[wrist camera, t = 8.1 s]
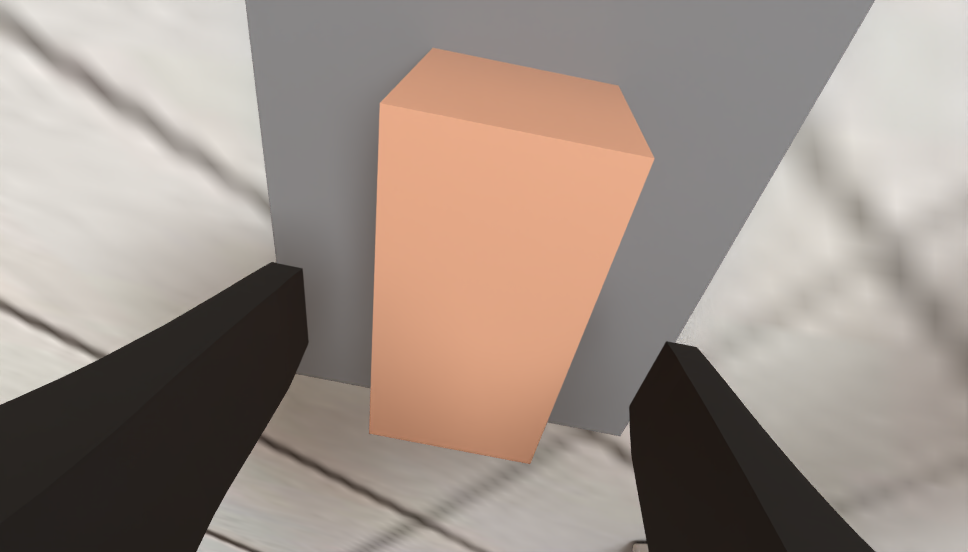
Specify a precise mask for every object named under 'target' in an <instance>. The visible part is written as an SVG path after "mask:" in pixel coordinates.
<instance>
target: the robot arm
mask: <svg viewBox="0 0 968 552" xmlns="http://www.w3.org/2000/svg"><path fill="white" fill-rule="evenodd" d="M308 343H309V340H308V327H307V315H306V302H305V290H304V278H303V268H299V267H294V266H289V265H284V264H279V263H274V262H271V263H269V264H268V265H266V266H264V267H262V268H260V269H259V270H257V271H255V272H254V273H252V274H250V275H248V276H247V277H245V278H243V279H242V280H240V281H238V282H237V283H235V284H233V285H232V286H230V287H229V288H227V289H225V290H224V291H222V292H220V293H219V294H217V295H215V296H213V297H212V298H210V299H208V300H207V301H205V302H203V303H201V304H200V305H198V306H196V307H195V308H193V309H191V310H189V311H188V312H186V313H184V314H183V315H181V316H179V317H177V318H176V319H174V320H172V321H171V322H169V323H167V324H165V325H163V326H161V327H160V328H158V329H156V330H154V331H152V332H150V333H148V334H146V335H145V336H143V337H141V338H139V339H137V340H135V341H133V342H131V343H129V344H128V345H126V346H124V347H122V348H120V349H118V350H116V351H114V352H112V353H111V354H109V355H107V356H105V357H103V358H101V359H99V360H97V361H95V362H93V363H91V364H89V365H87V366H85V367H83V368H81V369H79V370H77V371H75V372H72V373H70V374H68V375H66V376H64V377H62V378H60V379H58V380H55V381H53V382H51V383H49V384H47V385H44V386H42V387H40V388H38V389H35V390H33V391H31V392H29V393H26V394H24V395H22V396H20V397H18V398H15V399H13V400H11V401H8V402H6V403H4V404H1V405H0V552H196V551H197V549H198V547H199V545H200V543H201V541H202V539H203V537H204V535H205V533H206V530H207V528H208V526H209V524H210V522H211V520H212V518H213V516H214V514H215V512H216V511H217V509H218V507H219V505H220V503H221V502H222V500H223V498H224V496H225V494H226V492H227V491H228V489H229V487H230V486H231V484H232V482H233V481H234V479H235V477H236V476H237V474H238V472H239V471H240V469H241V467H242V466H243V464H244V463H245V461H246V459H247V458H248V456H249V454H250V453H251V451H252V449H253V448H254V446H255V444H256V443H257V441H258V439H259V438H260V436H261V434H262V433H263V431H264V429H265V428H266V426H267V424H268V423H269V421H270V419H271V418H272V416H273V414H274V413H275V411H276V409H277V408H278V406H279V404H280V402H281V401H282V399H283V397H284V396H285V394H286V392H287V390H288V389H289V387H290V385H291V382H292V380H293V378H294V376H295V374H296V371H297V369H298V367H299V365H300V362H301V360H302V358H303V355H304V353H305V351H306V348H307V346H308ZM629 418H630V440H631V455H632V461H633V468H634V473H635V479H636V485H637V490H638V496H639V502H640V507H641V512H642V518H643V523H644V529H645V534H646V540H647V545H648V551H649V552H875V551H874V550H873V549H872V548H871V547H870V546H869V545H868V544H867V543H866V542H865V541H864V540H863V539H862V538H861V537H860V536H859V535H858V534H857V533H856V532H855V531H854V530H853V529H852V528H851V527H850V526H849V525H848V524H847V523H846V522H845V521H844V519H843V518H842V517H841V516H840V515H839V514H838V513H837V512H836V511H835V510H834V509H833V508H832V507H831V506H830V504H829V503H828V502H827V501H826V500H825V499H824V498H823V497H822V496H821V495H820V493H819V492H818V491H817V490H816V489H815V488H814V487H813V486H812V485H811V483H810V482H809V481H808V480H807V479H806V478H805V477H804V476H803V475H802V474H801V472H800V471H799V470H798V469H797V468H796V467H795V465H794V464H793V463H792V462H791V461H790V460H789V458H788V457H787V456H786V455H785V454H784V453H783V451H782V450H781V449H780V448H779V447H778V446H777V444H776V443H775V442H774V441H773V440H772V438H771V437H770V436H769V435H768V434H767V432H766V431H765V430H764V429H763V428H762V426H761V425H760V424H759V423H758V421H757V420H756V419H755V418H754V417H753V415H752V414H751V413H750V412H749V410H748V409H747V408H746V407H745V405H744V404H743V403H742V402H741V400H740V399H739V398H738V397H737V396H736V394H735V393H734V392H733V391H732V389H731V388H730V387H729V386H728V384H727V383H726V382H725V381H724V379H723V378H722V377H721V376H720V374H719V373H718V372H717V371H716V369H715V368H714V367H713V366H712V365H711V363H710V362H709V361H708V360H707V359H706V357H705V356H704V355H703V354H702V353H701V352H700V350H699V349H698V348H697V347H693V346H688V345H683V344H678V343H673V342H668V341H666V342H665V344H664V346H663V348H662V349H661V351H660V353H659V355H658V356H657V358H656V360H655V362H654V363H653V365H652V367H651V369H650V370H649V372H648V374H647V376H646V377H645V379H644V381H643V383H642V384H641V386H640V388H639V390H638V391H637V393H636V395H635V397H634V398H633V400H632V402H631V404H630V406H629Z"/></svg>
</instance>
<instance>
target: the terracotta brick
mask: <svg viewBox="0 0 968 552" xmlns="http://www.w3.org/2000/svg"><path fill="white" fill-rule="evenodd" d="M654 159H655V158H654V156H653V154H652V152H651V150H650V148H649V146H648V144H647V142H646V140H645V138H644V136H643V134H642V132H641V130H640V128H639V126H638V124H637V122H636V120H635V118H634V116H633V114H632V112H631V110H630V108H629V106H628V104H627V102H626V100H625V98H624V96H623V94H622V92H621V90H620V88H619V86H618V85H613V84H608V83H603V82H598V81H593V80H588V79H584V78H579V77H574V76H569V75H564V74H559V73H554V72H549V71H544V70H539V69H535V68H530V67H525V66H520V65H515V64H510V63H505V62H500V61H495V60H491V59H486V58H481V57H476V56H471V55H466V54H461V53H456V52H451V51H446V50H442V49H437V48H432V49H431V50H430V51H429V52H428V53H427V54H426V55H425V57H424V58H423V59H422V60H421V61H420V62H419V63H418V64H417V65H416V66H415V67H414V68H413V69H412V70H411V71H410V72H409V73H408V74H407V75H406V76H405V77H404V78H403V79H402V80H401V81H400V83H399V84H398V85H397V86H396V87H395V88H394V89H393V90H392V91H391V92H390V93H389V94H388V95H387V96H386V97H385V98H384V99H383V100H382V101H381V102H380V113H379V144H378V175H377V206H376V237H375V268H374V300H373V331H372V362H371V393H370V424H369V434H374V435H380V436H385V437H390V438H396V439H401V440H406V441H411V442H417V443H422V444H427V445H433V446H438V447H443V448H448V449H454V450H459V451H464V452H470V453H475V454H480V455H485V456H491V457H496V458H501V459H507V460H512V461H517V462H522V463H528V464H530V463H531V460H532V458H533V456H534V453H535V451H536V448H537V446H538V443H539V441H540V438H541V436H542V433H543V431H544V429H545V426H546V424H547V421H548V419H549V416H550V414H551V411H552V409H553V406H554V404H555V402H556V399H557V397H558V394H559V392H560V389H561V387H562V384H563V382H564V380H565V377H566V375H567V372H568V370H569V367H570V365H571V362H572V360H573V357H574V355H575V353H576V350H577V348H578V345H579V343H580V340H581V338H582V335H583V333H584V330H585V328H586V326H587V323H588V321H589V318H590V316H591V313H592V311H593V308H594V306H595V303H596V301H597V299H598V296H599V294H600V291H601V289H602V286H603V284H604V281H605V279H606V277H607V274H608V272H609V269H610V267H611V264H612V262H613V259H614V257H615V254H616V252H617V250H618V247H619V245H620V242H621V240H622V237H623V235H624V232H625V230H626V227H627V225H628V223H629V220H630V218H631V215H632V213H633V210H634V208H635V205H636V203H637V200H638V198H639V196H640V193H641V191H642V188H643V186H644V183H645V181H646V178H647V176H648V174H649V171H650V169H651V166H652V164H653V161H654Z"/></svg>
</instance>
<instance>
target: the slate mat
mask: <svg viewBox="0 0 968 552" xmlns="http://www.w3.org/2000/svg"><path fill="white" fill-rule="evenodd" d="M874 1H875V0H245V2H246V11H247V19H248V27H249V36H250V44H251V53H252V61H253V69H254V78H255V86H256V94H257V103H258V111H259V119H260V128H261V136H262V144H263V153H264V161H265V169H266V178H267V186H268V194H269V203H270V211H271V220H272V228H273V236H274V245H275V253H276V261H277V263H279V264H284V265H289V266H294V267H299V268H303V278H304V290H305V302H306V315H307V327H308V340H309V343H308V346H307V348H306V351H305V353H304V355H303V358H302V360H301V362H300V365H299V367H298V369H297V371H296V374H300V375H305V376H310V377H316V378H321V379H326V380H331V381H336V382H341V383H347V384H352V385H357V386H362V387H367V388H371V362H372V331H373V300H374V268H375V237H376V206H377V175H378V144H379V113H380V102H381V101H382V100H383V99H384V98H385V97H386V96H387V95H388V94H389V93H390V92H391V91H392V90H393V89H394V88H395V87H396V86H397V85H398V84H399V83H400V81H401V80H402V79H403V78H404V77H405V76H406V75H407V74H408V73H409V72H410V71H411V70H412V69H413V68H414V67H415V66H416V65H417V64H418V63H419V62H420V61H421V60H422V59H423V58H424V57H425V55H426V54H427V53H428V52H429V51H430V50H431V49H432V48H437V49H442V50H446V51H451V52H456V53H461V54H466V55H471V56H476V57H481V58H486V59H491V60H495V61H500V62H505V63H510V64H515V65H520V66H525V67H530V68H535V69H539V70H544V71H549V72H554V73H559V74H564V75H569V76H574V77H579V78H584V79H588V80H593V81H598V82H603V83H608V84H613V85H618V86H619V88H620V90H621V92H622V94H623V96H624V98H625V100H626V102H627V104H628V106H629V108H630V110H631V112H632V114H633V116H634V118H635V120H636V122H637V124H638V126H639V128H640V130H641V132H642V134H643V136H644V138H645V140H646V142H647V144H648V146H649V148H650V150H651V152H652V154H653V156H654V158H655V159H654V161H653V164H652V166H651V169H650V171H649V174H648V176H647V178H646V181H645V183H644V186H643V188H642V191H641V193H640V196H639V198H638V200H637V203H636V205H635V208H634V210H633V213H632V215H631V218H630V220H629V223H628V225H627V227H626V230H625V232H624V235H623V237H622V240H621V242H620V245H619V247H618V250H617V252H616V254H615V257H614V259H613V262H612V264H611V267H610V269H609V272H608V274H607V277H606V279H605V281H604V284H603V286H602V289H601V291H600V294H599V296H598V299H597V301H596V303H595V306H594V308H593V311H592V313H591V316H590V318H589V321H588V323H587V326H586V328H585V330H584V333H583V335H582V338H581V340H580V343H579V345H578V348H577V350H576V353H575V355H574V357H573V360H572V362H571V365H570V367H569V370H568V372H567V375H566V377H565V380H564V382H563V384H562V387H561V389H560V392H559V394H558V397H557V399H556V402H555V404H554V406H553V409H552V411H551V414H550V416H549V419H548V421H547V422H549V423H554V424H559V425H565V426H570V427H575V428H580V429H585V430H591V431H596V432H601V433H606V434H611V435H616V436H621V434H622V432H623V431H624V429H625V427H626V425H627V424H628V422H629V420H630V418H629V406H630V404H631V402H632V400H633V398H634V397H635V395H636V393H637V391H638V390H639V388H640V386H641V384H642V383H643V381H644V379H645V377H646V376H647V374H648V372H649V370H650V369H651V367H652V365H653V363H654V362H655V360H656V358H657V356H658V355H659V353H660V351H661V349H662V348H663V346H664V344H665V342H666V341H668V342H673V343H675V342H676V340H677V338H678V336H679V335H680V333H681V331H682V330H683V328H684V326H685V324H686V323H687V321H688V319H689V318H690V316H691V314H692V313H693V311H694V309H695V307H696V306H697V304H698V302H699V301H700V299H701V297H702V295H703V294H704V292H705V290H706V289H707V287H708V285H709V283H710V282H711V280H712V278H713V277H714V275H715V273H716V271H717V270H718V268H719V266H720V265H721V263H722V261H723V259H724V258H725V256H726V254H727V253H728V251H729V249H730V248H731V246H732V244H733V242H734V241H735V239H736V237H737V236H738V234H739V232H740V230H741V229H742V227H743V225H744V224H745V222H746V220H747V218H748V217H749V215H750V213H751V212H752V210H753V208H754V206H755V205H756V203H757V201H758V200H759V198H760V196H761V194H762V193H763V191H764V189H765V188H766V186H767V184H768V182H769V181H770V179H771V177H772V176H773V174H774V172H775V171H776V169H777V167H778V165H779V164H780V162H781V160H782V159H783V157H784V155H785V153H786V152H787V150H788V148H789V147H790V145H791V143H792V141H793V140H794V138H795V136H796V135H797V133H798V131H799V129H800V128H801V126H802V124H803V123H804V121H805V119H806V117H807V116H808V114H809V112H810V111H811V109H812V107H813V105H814V104H815V102H816V100H817V99H818V97H819V95H820V94H821V92H822V90H823V88H824V87H825V85H826V83H827V82H828V80H829V78H830V76H831V75H832V73H833V71H834V70H835V68H836V66H837V64H838V63H839V61H840V59H841V58H842V56H843V54H844V52H845V51H846V49H847V47H848V46H849V44H850V42H851V40H852V39H853V37H854V35H855V34H856V32H857V30H858V28H859V27H860V25H861V23H862V22H863V20H864V18H865V17H866V15H867V13H868V11H869V10H870V8H871V6H872V5H873V3H874Z"/></svg>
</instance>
